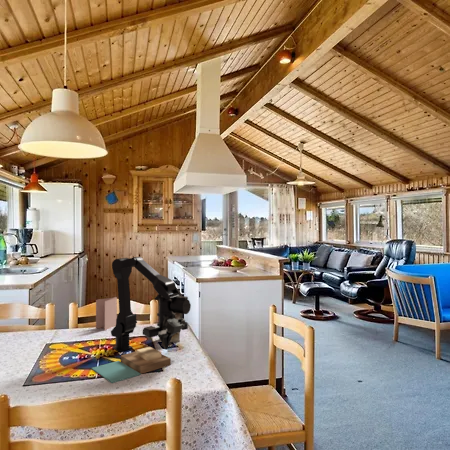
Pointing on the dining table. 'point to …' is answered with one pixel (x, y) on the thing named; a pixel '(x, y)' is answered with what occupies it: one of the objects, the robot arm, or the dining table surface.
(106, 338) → the dining table surface
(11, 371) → the dining table surface
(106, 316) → the greeting card
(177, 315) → the coffee box
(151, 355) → the birch tile
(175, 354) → the dining table surface
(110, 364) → the teal mat
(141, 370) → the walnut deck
